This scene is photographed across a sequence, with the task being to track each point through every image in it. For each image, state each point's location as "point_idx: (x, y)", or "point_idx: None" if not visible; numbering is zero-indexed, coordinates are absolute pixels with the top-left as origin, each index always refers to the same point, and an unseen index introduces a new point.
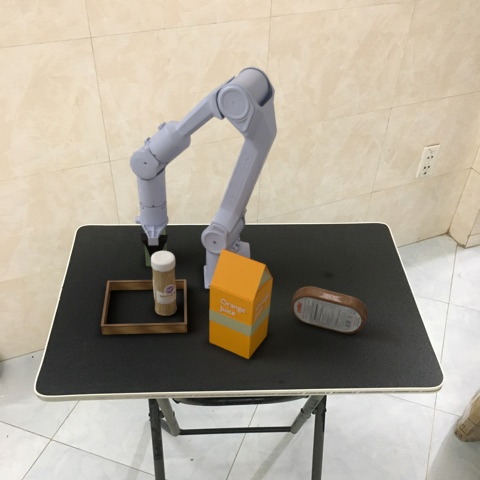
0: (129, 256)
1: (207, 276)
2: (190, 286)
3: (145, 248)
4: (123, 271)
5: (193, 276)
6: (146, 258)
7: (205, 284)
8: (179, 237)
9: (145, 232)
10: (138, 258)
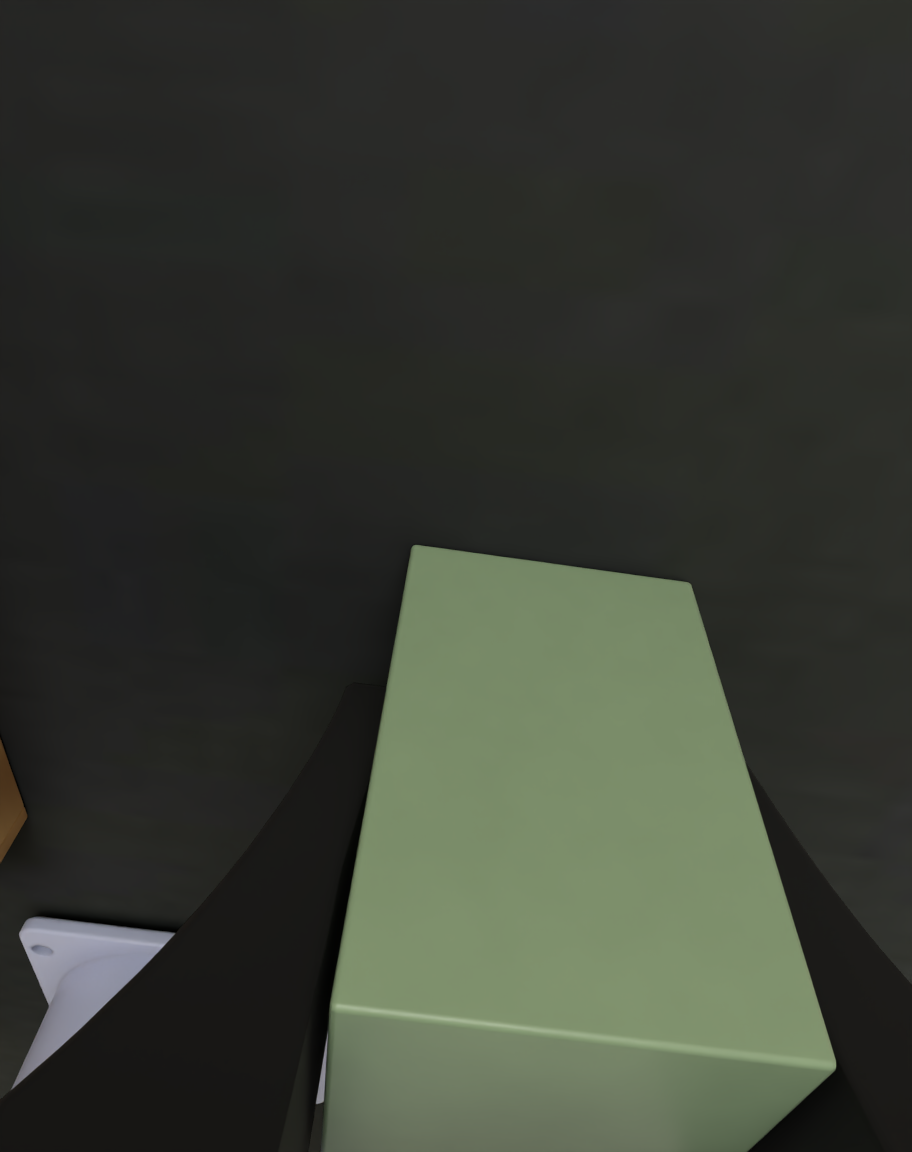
0: (737, 328)
1: (114, 991)
2: (59, 840)
3: (367, 809)
4: (307, 181)
5: (210, 876)
6: (394, 644)
7: (61, 937)
8: (885, 883)
9: (678, 1055)
10: (632, 462)
